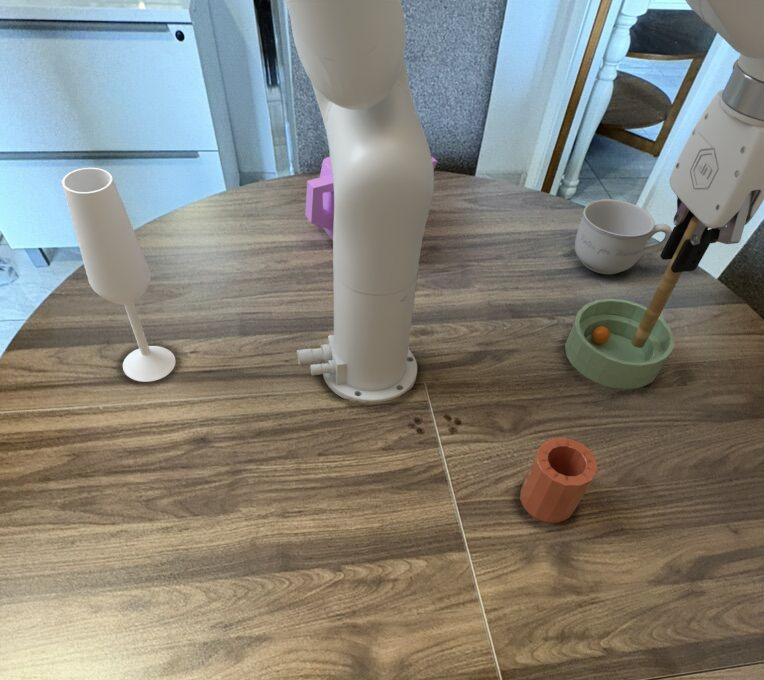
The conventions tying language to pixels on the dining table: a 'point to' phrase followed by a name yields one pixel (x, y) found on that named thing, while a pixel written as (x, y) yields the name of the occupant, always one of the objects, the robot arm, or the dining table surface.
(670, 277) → the stick
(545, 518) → the holder
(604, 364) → the bowl
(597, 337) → the bead
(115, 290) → the champagne flute
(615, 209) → the teacup
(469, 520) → the dining table surface
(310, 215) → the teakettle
